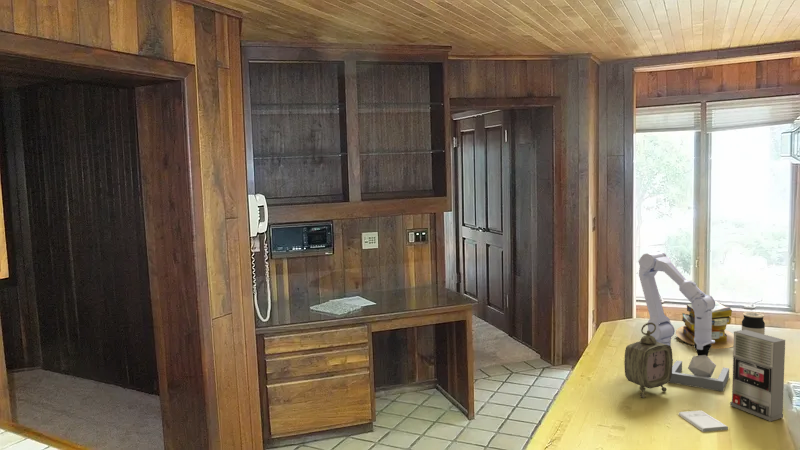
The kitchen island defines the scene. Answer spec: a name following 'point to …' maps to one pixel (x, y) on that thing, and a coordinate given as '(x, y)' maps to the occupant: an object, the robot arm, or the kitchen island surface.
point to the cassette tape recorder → (758, 374)
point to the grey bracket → (699, 378)
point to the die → (702, 366)
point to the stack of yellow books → (718, 327)
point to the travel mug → (753, 322)
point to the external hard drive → (703, 421)
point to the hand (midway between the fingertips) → (702, 363)
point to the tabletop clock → (648, 362)
